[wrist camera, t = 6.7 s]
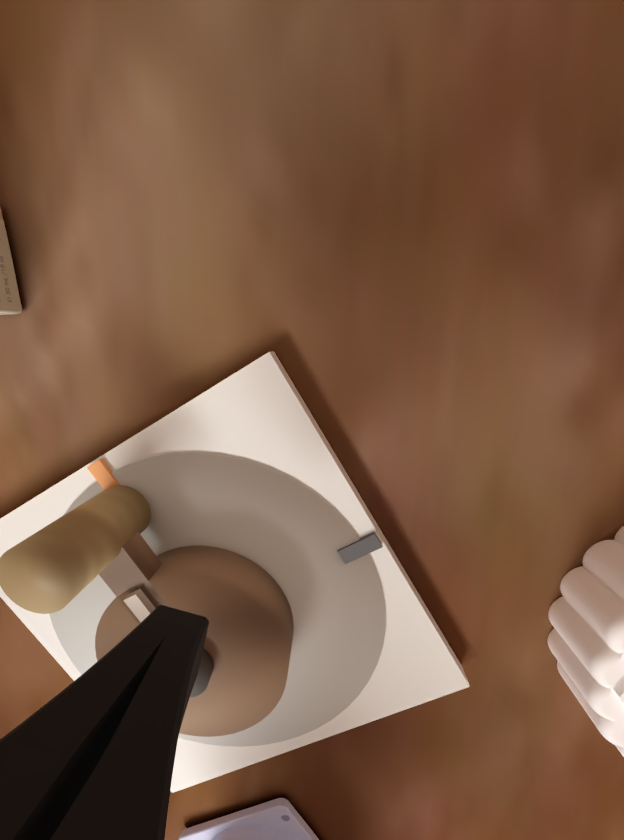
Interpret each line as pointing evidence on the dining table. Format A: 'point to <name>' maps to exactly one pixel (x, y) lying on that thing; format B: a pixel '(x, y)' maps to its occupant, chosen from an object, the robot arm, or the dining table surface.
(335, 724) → the board
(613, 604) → the mooncake
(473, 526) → the dining table surface
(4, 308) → the skincare box
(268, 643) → the dial
